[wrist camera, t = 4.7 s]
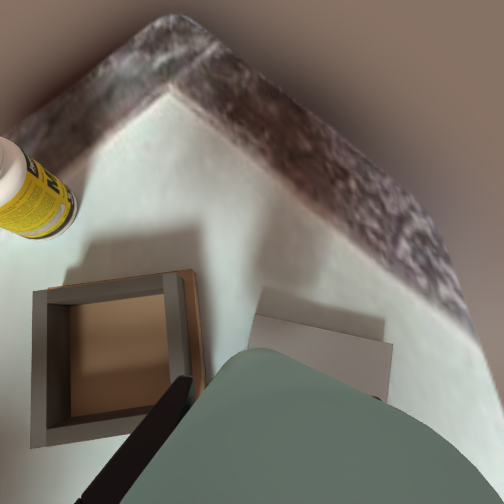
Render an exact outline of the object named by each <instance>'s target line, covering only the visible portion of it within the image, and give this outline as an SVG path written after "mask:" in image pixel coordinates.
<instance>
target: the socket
mask: <svg viewBox="0 0 504 504" xmlns="http://www.w3.org/2000/svg"><path fill="white" fill-rule="evenodd" d="M179 375H188V376H193V377H194V401H193V404H194V403H195V402H196V400H197V399H198V398H199V397H200V395H201V394H202V393H203V391H204V390H205V389H206V387H207V384H206V374H205V364H204V354H203V344H202V334H201V324H200V314H199V303H198V293H197V283H196V273H195V272H194V271H193V269H188V270H181V271H173V272H165V273H158V274H150V275H143V276H135V277H127V278H120V279H112V280H105V281H97V282H89V283H82V284H74V285H66V286H59V287H51V288H48V289H47V290H39V291H33V310H32V372H31V434H30V449H32V448H39V447H45V446H47V447H48V446H55V445H61V444H68V443H74V442H81V441H87V440H94V439H100V438H106V437H113V436H119V435H126V434H131V433H132V432H133V431H134V430H135V428H136V427H137V426H138V425H139V423H140V422H141V421H142V420H143V418H144V417H145V416H146V415H147V414H148V412H149V411H150V410H151V409H152V407H153V406H154V405H155V404H156V402H157V401H158V400H159V399H160V398H161V396H162V395H163V394H164V393H165V391H166V390H167V389H168V388H169V386H170V385H171V384H172V383H173V382H174V380H175V379H176V378H177V377H178V376H179Z"/></svg>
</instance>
